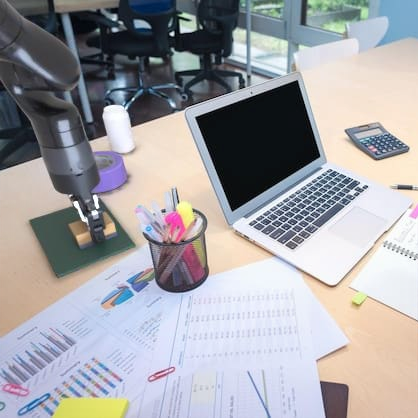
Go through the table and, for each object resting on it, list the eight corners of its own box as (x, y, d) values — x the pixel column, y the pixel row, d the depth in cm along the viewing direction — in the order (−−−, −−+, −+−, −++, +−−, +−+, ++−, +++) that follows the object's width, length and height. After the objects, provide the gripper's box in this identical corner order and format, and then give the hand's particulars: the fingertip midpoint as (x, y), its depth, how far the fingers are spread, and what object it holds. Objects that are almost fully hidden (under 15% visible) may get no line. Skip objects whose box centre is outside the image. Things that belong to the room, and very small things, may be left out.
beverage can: (124, 142, 111) (114, 102, 104) (140, 148, 110) (132, 107, 102) (106, 151, 107) (95, 109, 100) (123, 157, 105) (113, 115, 98)
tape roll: (75, 171, 98) (69, 153, 95) (125, 164, 102) (121, 147, 99) (73, 197, 89) (67, 178, 86) (129, 188, 94) (124, 170, 91)
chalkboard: (58, 278, 70) (57, 275, 70) (29, 222, 82) (28, 219, 81) (135, 246, 78) (135, 244, 78) (100, 199, 90) (99, 197, 89)
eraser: (80, 250, 75) (75, 236, 73) (73, 237, 78) (68, 224, 76) (117, 235, 79) (113, 222, 77) (109, 224, 82) (105, 211, 80)
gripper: (35, 151, 70) (63, 224, 80) (59, 187, 62) (87, 263, 72) (80, 140, 74) (102, 211, 85) (108, 173, 66) (128, 247, 77)
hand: (95, 235), depth 78 cm, fingers closed on eraser, 4 cm apart
